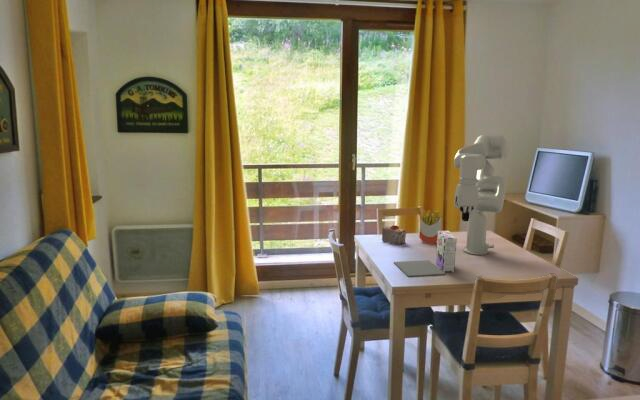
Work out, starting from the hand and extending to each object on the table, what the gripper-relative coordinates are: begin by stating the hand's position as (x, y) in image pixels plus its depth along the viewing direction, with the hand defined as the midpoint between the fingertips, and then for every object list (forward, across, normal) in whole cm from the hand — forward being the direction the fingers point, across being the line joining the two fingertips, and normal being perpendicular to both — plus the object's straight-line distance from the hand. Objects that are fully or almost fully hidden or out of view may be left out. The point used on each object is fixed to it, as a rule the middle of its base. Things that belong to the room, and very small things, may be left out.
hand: (465, 220), depth 225 cm
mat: (+23, +22, -1) cm, 31 cm away
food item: (+22, +18, -47) cm, 55 cm away
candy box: (+23, +8, -1) cm, 24 cm away
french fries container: (+22, -2, -44) cm, 49 cm away
